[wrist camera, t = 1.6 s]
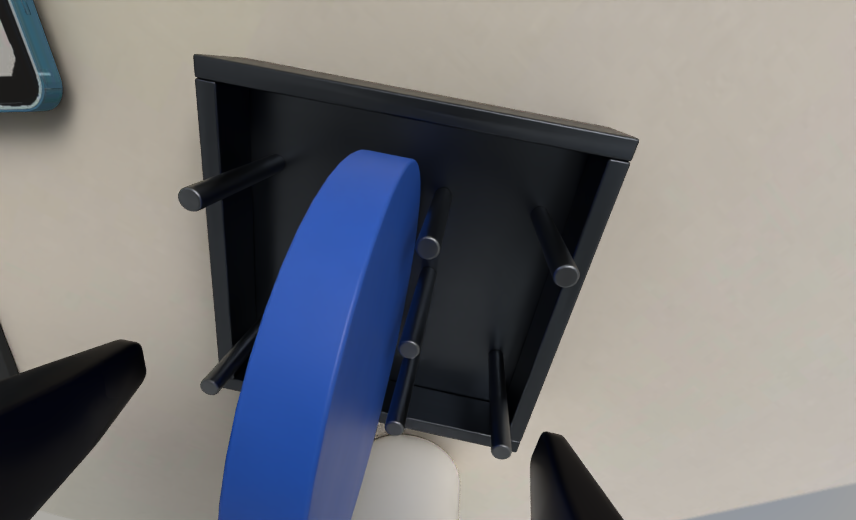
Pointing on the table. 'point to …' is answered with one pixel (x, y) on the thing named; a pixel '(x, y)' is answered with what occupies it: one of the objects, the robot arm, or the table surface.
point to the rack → (436, 231)
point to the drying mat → (6, 359)
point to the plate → (325, 348)
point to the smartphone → (26, 61)
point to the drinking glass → (408, 482)
